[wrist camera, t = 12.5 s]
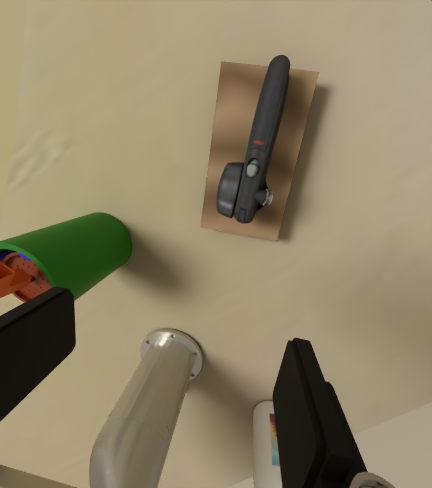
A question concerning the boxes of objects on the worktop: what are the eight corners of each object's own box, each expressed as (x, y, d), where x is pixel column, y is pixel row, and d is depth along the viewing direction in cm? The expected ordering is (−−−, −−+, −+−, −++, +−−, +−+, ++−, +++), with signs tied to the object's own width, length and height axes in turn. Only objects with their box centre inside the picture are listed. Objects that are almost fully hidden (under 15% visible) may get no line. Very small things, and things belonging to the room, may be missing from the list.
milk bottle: (264, 429, 48) (271, 596, 29) (246, 404, 47) (241, 563, 28) (298, 421, 46) (329, 595, 27) (280, 394, 44) (299, 560, 26)
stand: (274, 235, 35) (276, 241, 32) (204, 222, 36) (200, 227, 33) (312, 81, 28) (319, 71, 25) (224, 71, 29) (221, 61, 26)
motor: (73, 245, 41) (-79, 311, 22) (86, 201, 38) (-80, 234, 19) (123, 272, 41) (14, 359, 22) (139, 230, 38) (28, 291, 19)
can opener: (261, 224, 31) (262, 235, 26) (213, 209, 32) (205, 218, 26) (313, 75, 25) (329, 51, 20) (253, 60, 26) (252, 32, 20)
